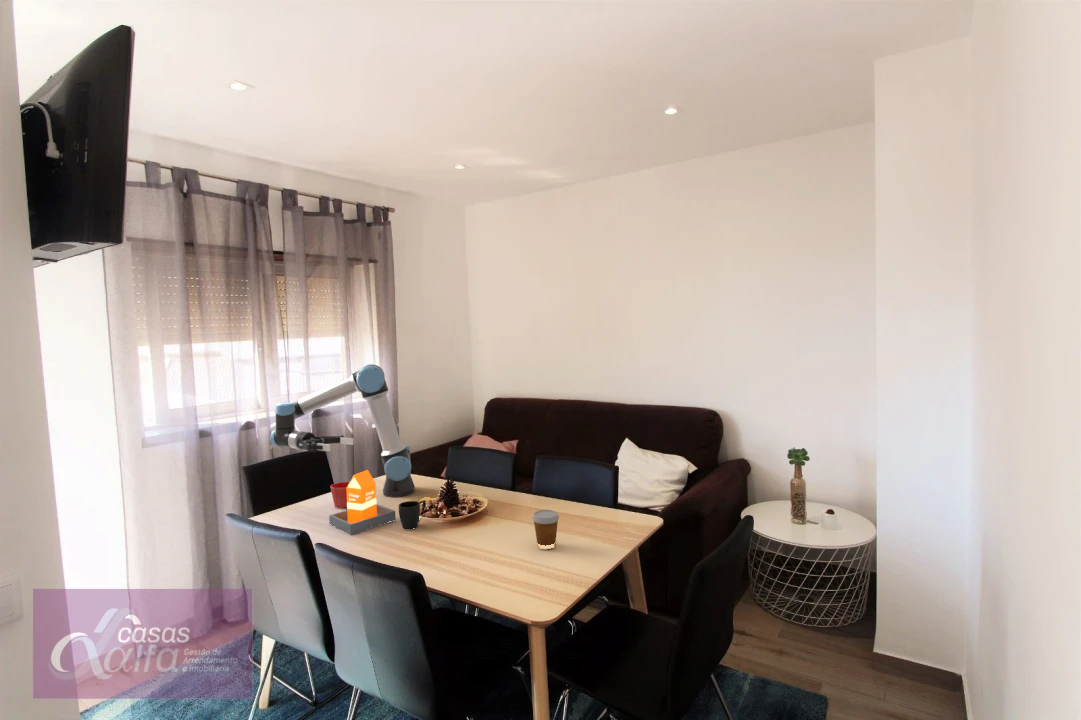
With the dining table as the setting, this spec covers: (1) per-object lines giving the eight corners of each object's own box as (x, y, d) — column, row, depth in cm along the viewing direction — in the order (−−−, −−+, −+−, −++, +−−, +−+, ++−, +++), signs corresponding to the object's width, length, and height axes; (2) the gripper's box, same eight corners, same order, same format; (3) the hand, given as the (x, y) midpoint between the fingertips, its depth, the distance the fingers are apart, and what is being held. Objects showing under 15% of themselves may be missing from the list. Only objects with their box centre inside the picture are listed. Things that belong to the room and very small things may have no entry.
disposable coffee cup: (540, 554, 181) (540, 520, 181) (528, 544, 190) (527, 512, 189) (564, 548, 186) (563, 515, 185) (551, 539, 194) (551, 507, 193)
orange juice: (347, 522, 213) (345, 474, 212) (362, 515, 221) (360, 468, 220) (363, 525, 210) (361, 475, 209) (377, 517, 218) (375, 470, 217)
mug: (432, 523, 213) (431, 500, 212) (408, 533, 203) (407, 508, 203) (419, 519, 218) (418, 497, 217) (395, 528, 209) (394, 504, 208)
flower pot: (347, 500, 246) (346, 480, 245) (361, 504, 239) (360, 483, 239) (326, 506, 237) (325, 485, 237) (340, 511, 231) (339, 489, 230)
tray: (373, 511, 229) (373, 502, 229) (395, 520, 218) (395, 510, 217) (329, 525, 214) (329, 515, 214) (350, 535, 203) (350, 524, 202)
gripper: (323, 443, 238) (362, 447, 230) (278, 455, 214) (319, 460, 207) (323, 427, 237) (361, 430, 230) (278, 437, 214) (319, 441, 207)
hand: (341, 444), depth 218 cm, fingers open, 13 cm apart
